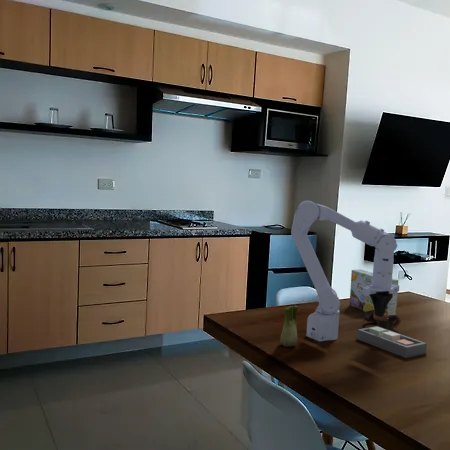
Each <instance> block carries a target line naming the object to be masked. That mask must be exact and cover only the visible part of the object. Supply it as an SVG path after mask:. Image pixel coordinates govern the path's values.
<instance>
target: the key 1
mask: <svg viewBox="0 0 450 450" xmlns="http://www.w3.org/2000/svg"><path fill="white" fill-rule="evenodd" d="M371 327H372V328H370V327H368V328H369V333H372V334H375V335H377V336H380V337H382V333H383V332H386V331H387V330H386V329H383V328H380V327H374V326H371Z"/></svg>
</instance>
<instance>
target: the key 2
mask: <svg viewBox="0 0 450 450" xmlns="http://www.w3.org/2000/svg"><path fill="white" fill-rule="evenodd" d="M396 342H397V343H399V344H402V345H405V346H408V345H413V344H414V343H413V342H410V341H408V340H405V339H402V340H397V341H396Z"/></svg>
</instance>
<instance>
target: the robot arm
mask: <svg viewBox="0 0 450 450" xmlns="http://www.w3.org/2000/svg"><path fill="white" fill-rule="evenodd" d="M317 219H318V221H330V222H331V223H334V224H336V225H338V226H340V227H342V228H345V229H346V230H349V231H350V232H351V235H352V237H353V238H354V239H356V240H359V241H361V242H363V243H364V244H366V245H368V246H370V247H374V248H375V249H374V257H373V268H372V273H373V278H372V285H370V286H368V287H364V288H363V293H362V294H365V295H370V297H371V299H372V302H373V306H374V310H375V315H376V316H379V317H383V316H384V313H385V310H386V307H387V305H388V303H389V301H390V300H391V299H392V297H393V294H390V293H389V292H393V291H396V292H400V285H399V284H398V285H395V284H392V278H393V275H394V274H393V273H394V255H395V251H396V250H397V248H398V243H397V239H396V238H395V237H394V236H393V235H392V234H390V233H388V232H386V231H385V229H383V228H380V229H379V228H377V227H376V226H373V225H372V224H371V222H370V221H369V220H365V221H364V220H363V219H362V220H359V221H355V220H353V219H351V218H349V217H347V216H345V215H343V214H342V213H340V212H338V211H336V210H334V209H332V208H330V207H328V206H326V205H323V204H319V203H315V202H313V201H312V200H303V201H301V202H300V203H299V204H298V206H297V208H296V210H295V211H294V215H293V220H292V225H291V232H290V233H291V234H290V235H291V237H292V239H293V241H294V244H295V246H296V249H297V250H298V253H299V255H300V257H301V259H302V261H303V264H304V266H305V269H306V271H307V274H308V275H309V277H310V280H311V281H312V284H313V287H314V289H315V291H316V293H317V302H318V306H317V307H316V308H315V311H314V312H313V313H310V314H309V315H308V317H307V321H306V334H305V335H306V337H308V338H309V339H313V340H314V341H317V342H324V341H334V340H338V337H339V323H340V307H341V299H340V298H339V296H338V293H337V291H336V290H335V289H333V287H331V285H330V283H329V281H328V278H327V276H326V275H325V271H324V269H323V267H322V265H321V263H320V260H319V258H318V257H317V254H316V252H315V250H314V247H313V245H312V243H311V241H310V238H309V236H308V233H309V231H310V228H311V227H312V226H311V225H312V224H313V223H315V221H316V220H317Z"/></svg>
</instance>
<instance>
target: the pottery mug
mask: <svg viewBox="0 0 450 450" xmlns="http://www.w3.org/2000/svg"><path fill="white" fill-rule="evenodd" d="M364 315H365V316H364V317H363V319H362V320H363V322H364V321H366V322H371V323H375V324H377V325H374V326H373V327H376V326H378V327H381V328H384V329H387V330H390V331H394V329H396V328H398V326H400V325H401V319H400V316H399V315H397V314H396V315H388V314H387V311H386V310H385V313H384V316H383V317H379V316H376V315H375V310H370V311H367V312H365V311H364ZM387 318H389V319H387ZM394 320H395V322H394ZM393 322H394V323H393Z"/></svg>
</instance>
